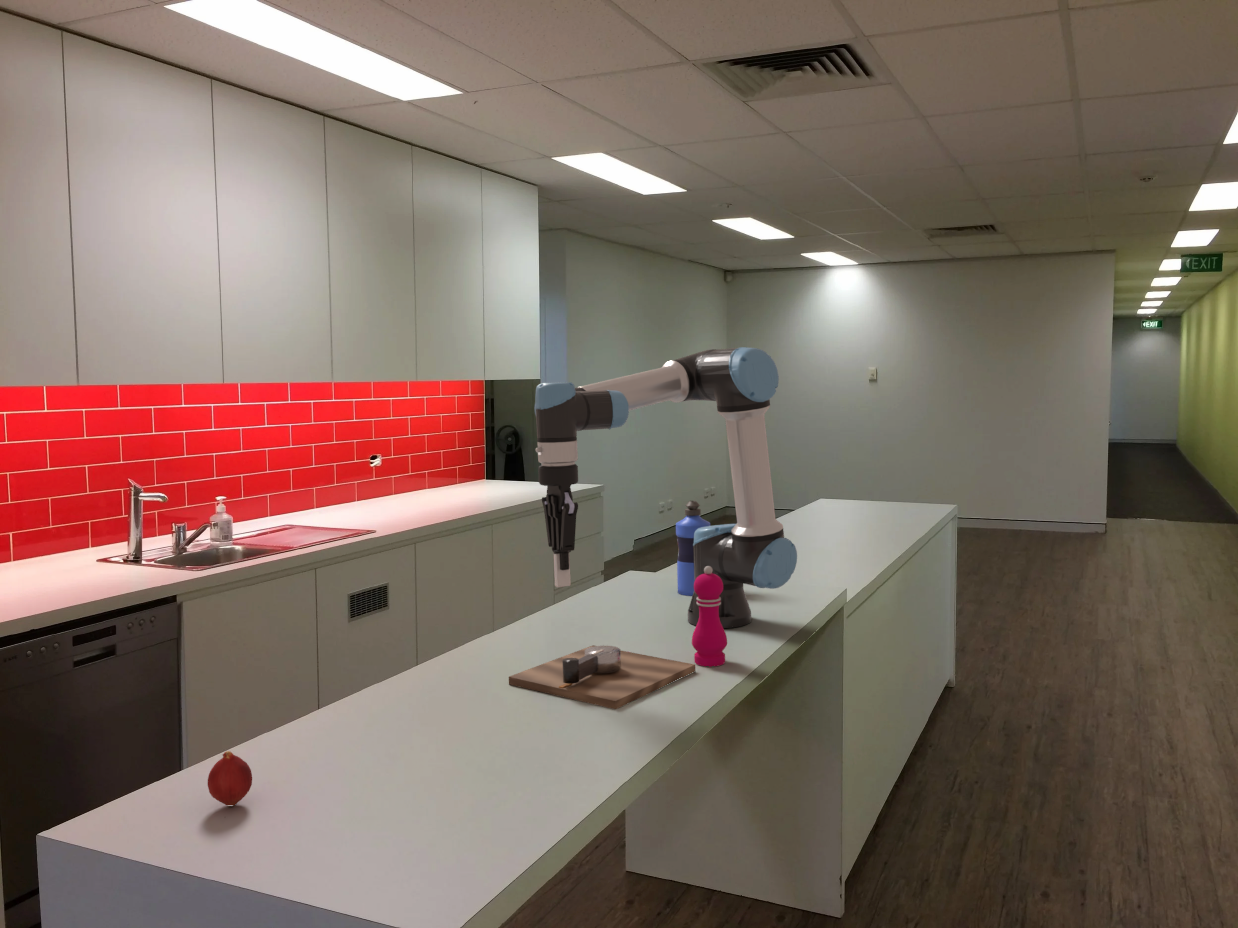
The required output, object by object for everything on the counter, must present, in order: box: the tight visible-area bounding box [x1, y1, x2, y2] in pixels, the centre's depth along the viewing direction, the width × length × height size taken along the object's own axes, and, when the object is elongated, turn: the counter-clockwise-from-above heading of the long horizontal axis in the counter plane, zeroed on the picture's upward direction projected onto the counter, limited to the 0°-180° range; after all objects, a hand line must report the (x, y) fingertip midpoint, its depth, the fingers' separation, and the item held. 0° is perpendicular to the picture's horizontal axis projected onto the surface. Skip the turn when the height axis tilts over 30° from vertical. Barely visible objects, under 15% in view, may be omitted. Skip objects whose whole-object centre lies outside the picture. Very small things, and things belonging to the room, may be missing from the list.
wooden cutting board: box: [508, 645, 696, 710], centre depth 189 cm, size 26×26×2 cm
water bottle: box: [675, 500, 711, 597], centre depth 261 cm, size 9×9×25 cm
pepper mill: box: [691, 566, 728, 668], centre depth 196 cm, size 7×7×20 cm
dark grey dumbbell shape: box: [562, 645, 622, 684], centre depth 185 cm, size 16×7×4 cm, turn 148°
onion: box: [207, 750, 253, 806], centre depth 135 cm, size 6×6×8 cm
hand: (562, 585), depth 186 cm, fingers closed
